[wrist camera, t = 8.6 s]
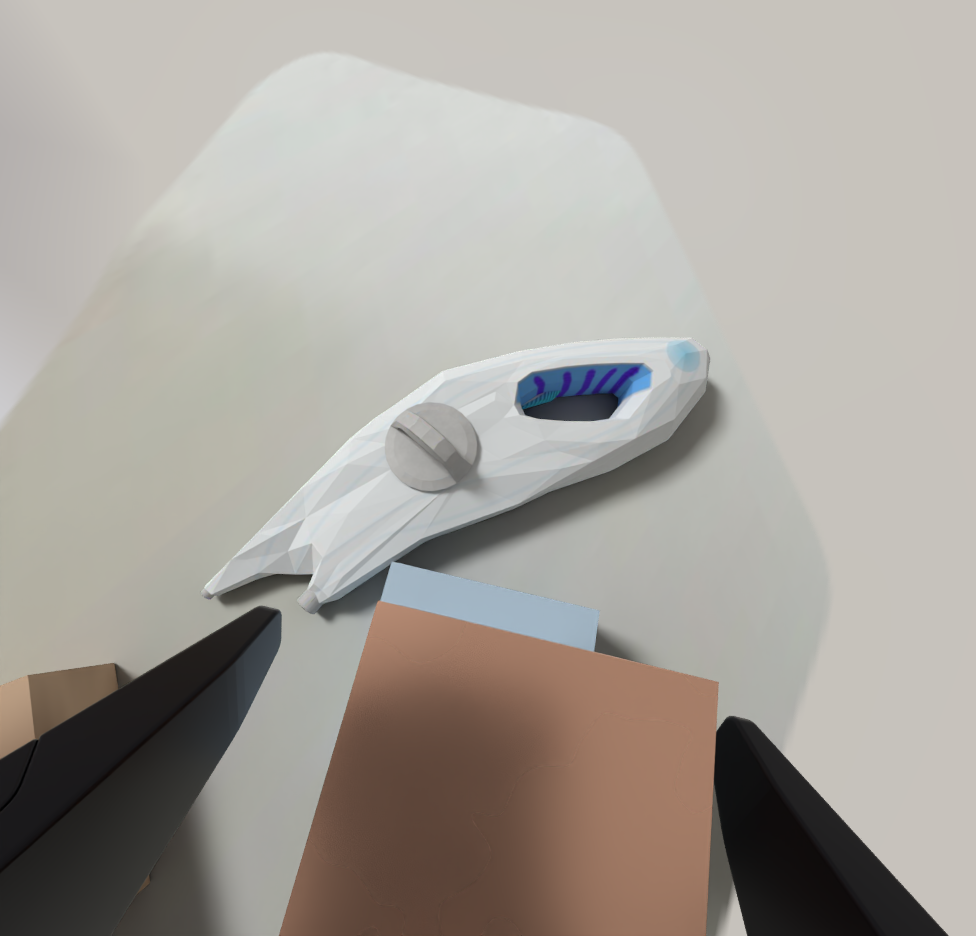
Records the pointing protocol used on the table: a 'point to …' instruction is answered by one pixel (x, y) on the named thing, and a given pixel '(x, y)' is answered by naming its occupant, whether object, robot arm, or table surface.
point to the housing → (509, 791)
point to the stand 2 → (491, 606)
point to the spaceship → (469, 457)
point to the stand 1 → (50, 703)
